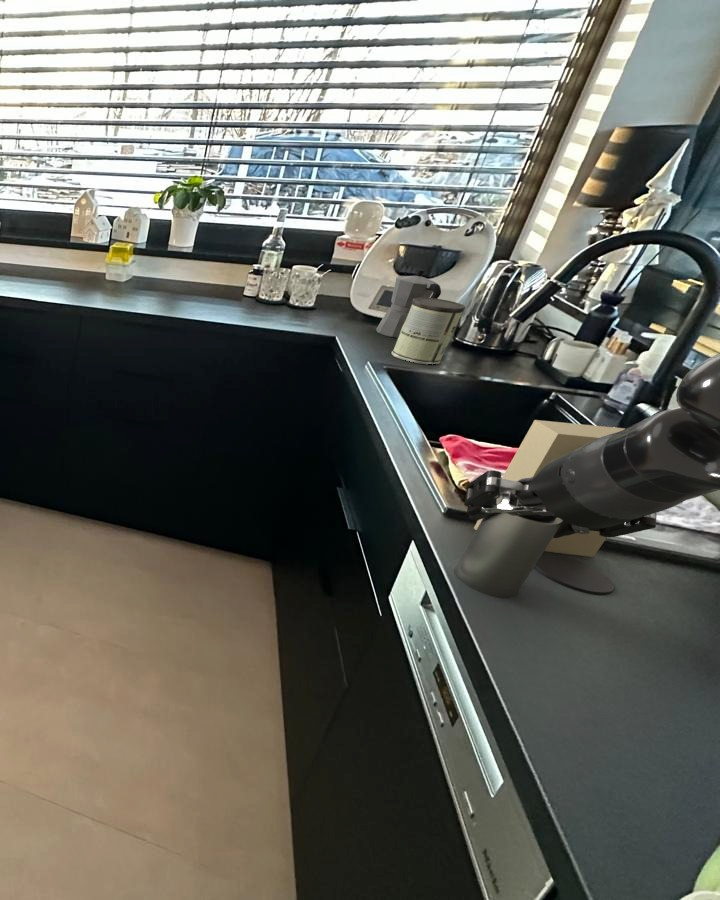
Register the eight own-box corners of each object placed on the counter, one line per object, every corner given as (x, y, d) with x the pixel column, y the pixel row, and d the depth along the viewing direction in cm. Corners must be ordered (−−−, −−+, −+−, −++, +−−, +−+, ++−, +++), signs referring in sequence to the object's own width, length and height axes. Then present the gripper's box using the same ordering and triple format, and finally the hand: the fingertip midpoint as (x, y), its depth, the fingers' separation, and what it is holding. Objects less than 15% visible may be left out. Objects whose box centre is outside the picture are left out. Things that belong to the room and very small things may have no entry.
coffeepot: (363, 326, 181) (387, 263, 173) (394, 327, 181) (420, 264, 173) (400, 343, 167) (429, 276, 159) (434, 344, 168) (464, 277, 159)
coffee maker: (564, 548, 85) (642, 430, 76) (646, 613, 73) (749, 483, 65) (468, 536, 86) (534, 419, 78) (535, 599, 75) (620, 470, 66)
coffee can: (387, 348, 163) (409, 294, 156) (434, 355, 159) (459, 301, 152) (394, 359, 155) (418, 303, 148) (444, 367, 151) (471, 310, 144)
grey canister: (489, 578, 78) (542, 490, 72) (522, 611, 73) (583, 519, 67) (437, 572, 79) (486, 484, 73) (467, 604, 74) (521, 512, 67)
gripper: (722, 460, 56) (592, 507, 71) (523, 425, 61) (441, 475, 76) (719, 539, 54) (587, 569, 69) (515, 496, 60) (433, 533, 75)
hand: (511, 520), depth 73 cm, fingers open, 6 cm apart
